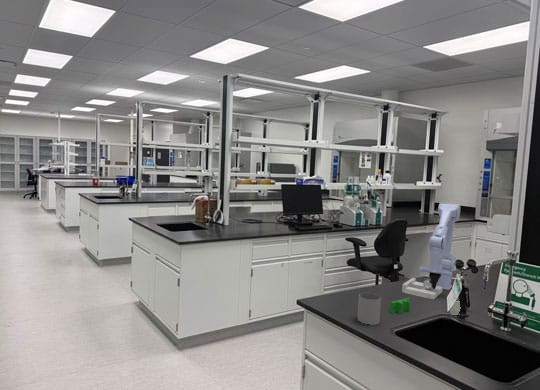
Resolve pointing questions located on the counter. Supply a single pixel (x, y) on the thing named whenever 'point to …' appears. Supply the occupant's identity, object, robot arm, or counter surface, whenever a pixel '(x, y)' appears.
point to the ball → (428, 284)
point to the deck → (420, 289)
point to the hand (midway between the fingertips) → (434, 288)
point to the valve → (456, 308)
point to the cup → (369, 308)
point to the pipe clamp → (400, 306)
